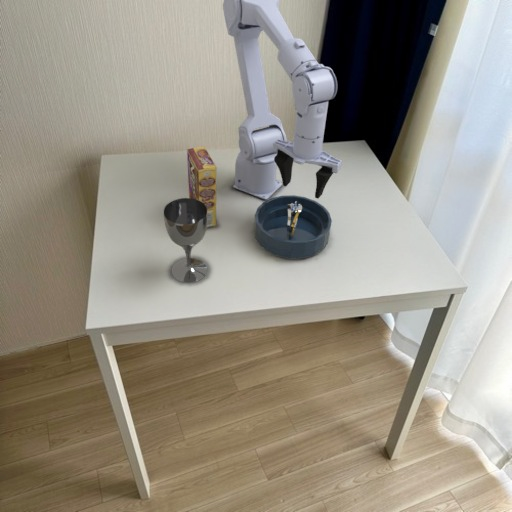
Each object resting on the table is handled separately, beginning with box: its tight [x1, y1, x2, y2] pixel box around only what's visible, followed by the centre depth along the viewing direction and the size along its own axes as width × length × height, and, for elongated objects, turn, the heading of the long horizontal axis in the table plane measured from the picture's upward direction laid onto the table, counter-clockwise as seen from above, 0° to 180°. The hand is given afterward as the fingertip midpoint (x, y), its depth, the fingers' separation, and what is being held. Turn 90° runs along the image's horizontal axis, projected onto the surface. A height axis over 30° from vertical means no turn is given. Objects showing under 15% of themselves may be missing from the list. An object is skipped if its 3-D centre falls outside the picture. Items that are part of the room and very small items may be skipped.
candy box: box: [186, 146, 217, 228], centre depth 113 cm, size 9×4×15 cm, turn 20°
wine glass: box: [162, 197, 208, 284], centre depth 100 cm, size 8×8×15 cm
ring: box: [287, 201, 302, 237], centre depth 111 cm, size 7×3×8 cm, turn 160°
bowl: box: [253, 194, 333, 260], centre depth 112 cm, size 16×16×5 cm
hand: (302, 189), depth 110 cm, fingers open, 7 cm apart
